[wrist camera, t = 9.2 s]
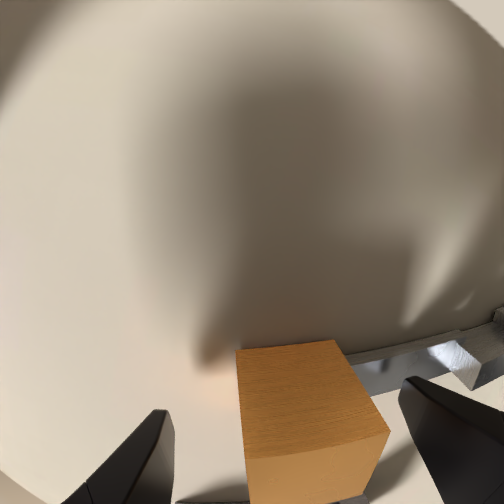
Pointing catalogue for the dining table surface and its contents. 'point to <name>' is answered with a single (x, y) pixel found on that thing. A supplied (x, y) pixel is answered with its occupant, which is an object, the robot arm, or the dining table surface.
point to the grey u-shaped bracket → (353, 503)
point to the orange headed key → (340, 407)
